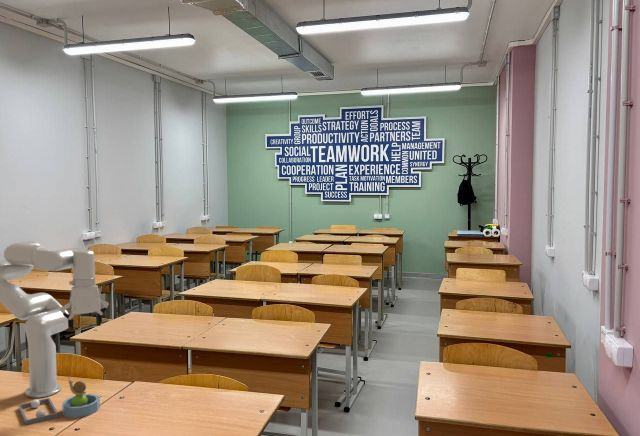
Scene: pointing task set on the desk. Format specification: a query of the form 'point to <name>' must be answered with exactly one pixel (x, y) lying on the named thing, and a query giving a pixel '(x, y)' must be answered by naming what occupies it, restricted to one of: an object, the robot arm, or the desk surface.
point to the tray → (38, 417)
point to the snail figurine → (78, 393)
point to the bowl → (81, 407)
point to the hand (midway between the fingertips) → (85, 327)
